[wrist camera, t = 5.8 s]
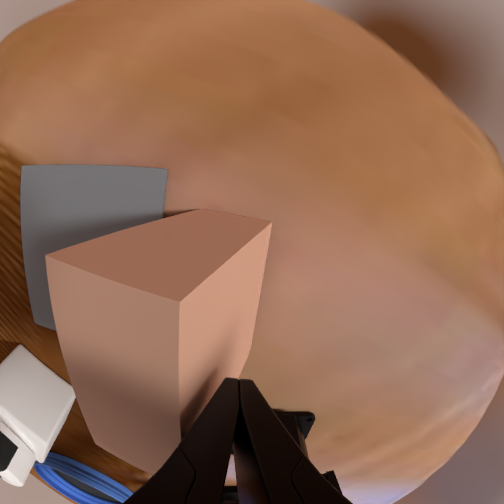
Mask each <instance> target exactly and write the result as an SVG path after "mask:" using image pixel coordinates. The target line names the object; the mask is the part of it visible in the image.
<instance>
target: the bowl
mask: <svg viewBox="0 0 504 504" xmlns="http://www.w3.org/2000/svg"><path fill="white" fill-rule="evenodd" d="M34 469H35V471H36V472H37V474H38V475H39V476H40V477H41V478H42V479H43V480H44V481H45V482H47V483H48V484H49V485H50V486H52V487H53V488H54V489H56V490H57V491H59V492H60V493H62V494H63V495H65V496H66V497H68V498H70V499H72V500H73V501H75V502H77V503H79V504H122V503H123V502H124V501H126V500H127V499H128V498H129V497H130V496H131V495H132V494H133V493H132V492H131V491H130V490H128V489H127V488H126V487H124V486H123V485H121V484H120V483H118V482H116V481H115V480H113V479H111V478H110V477H108V476H106V475H104V474H102V473H100V472H98V471H96V470H94V469H92V468H90V467H88V466H86V465H84V464H82V463H80V462H78V461H76V460H73V459H71V458H68V457H66V456H63V455H60V454H57V453H52V452H49V453H48V455H47V457H46V459H45V461H44V462H43V463H40V462H38V461H37V460H36V461H35V463H34Z"/></svg>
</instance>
